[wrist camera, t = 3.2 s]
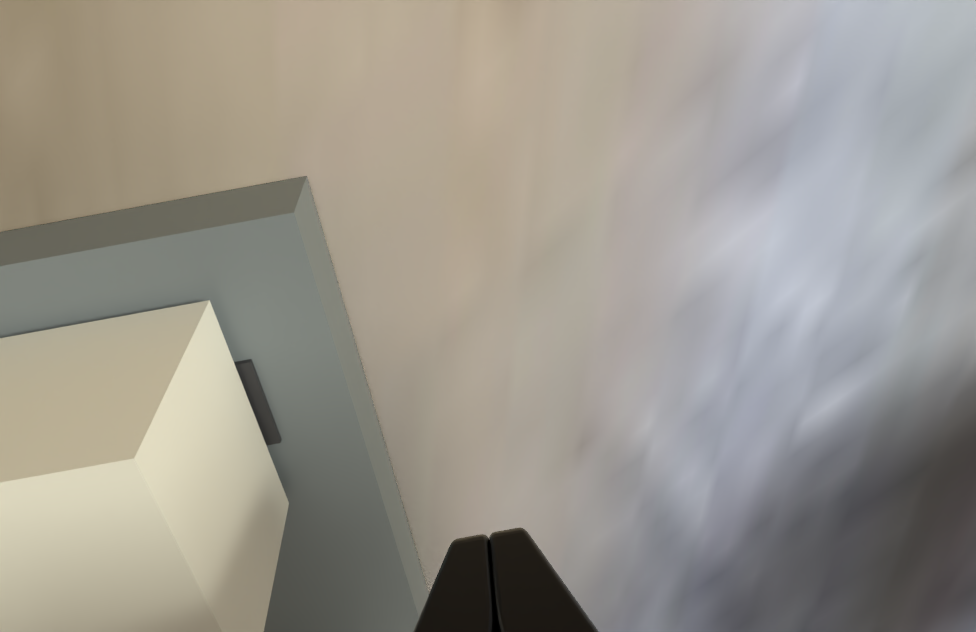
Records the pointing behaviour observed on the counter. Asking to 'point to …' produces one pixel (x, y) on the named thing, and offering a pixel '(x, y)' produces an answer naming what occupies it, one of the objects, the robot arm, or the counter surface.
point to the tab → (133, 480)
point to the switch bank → (253, 374)
